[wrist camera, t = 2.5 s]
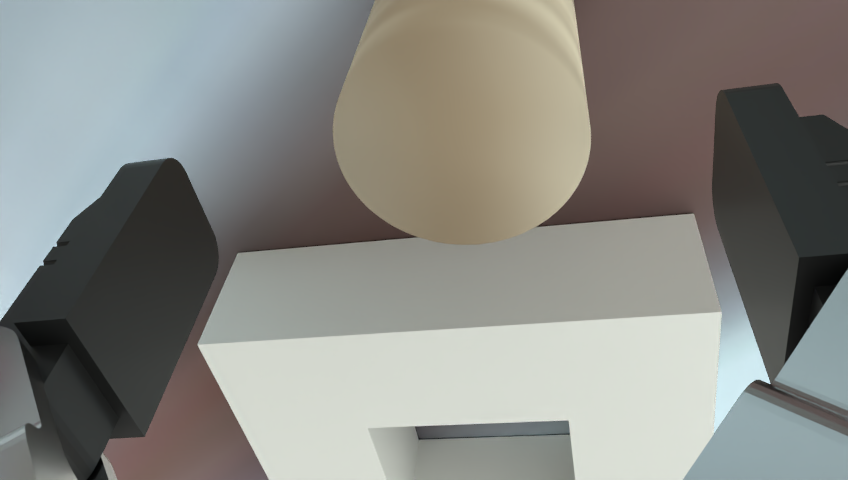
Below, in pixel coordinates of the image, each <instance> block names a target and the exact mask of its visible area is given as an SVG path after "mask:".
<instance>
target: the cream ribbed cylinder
mask: <svg viewBox="0 0 848 480" xmlns="http://www.w3.org/2000/svg"><path fill="white" fill-rule="evenodd" d="M333 142H334V148H335V153H336V157H337V161H338V163H339V166H340V168H341V171H342V173H343V175H344V177H345V179H346V181H347V182H348V184H349V186H350V187H351V189H352V190H353V191H354V193H355V194H356V195H357V197H358V198H359V199H360V200H361V201H362V202H363V203H364V204H365V205H366V206H367V207H368V208H369V209H370V210H371V211H372V212H374V213H375V214H376V215H377V216H378V217H380V218H381V219H383V220H384V221H386V222H387V223H389V224H390V225H392V226H394V227H396V228H398V229H400V230H402V231H404V232H406V233H409V234H411V235H414V236H416V237H419V238H423V239H426V240H430V241H434V242H440V243H446V244H457V245H477V244H485V243H493V242H497V241H501V240H505V239H509V238H512V237H514V236H517V235H520V234H523V233H525V232H527V231H529V230H531V229H533V228H535V227H536V226H538V225H540V224H541V223H543V222H544V221H546V220H547V219H549V218H550V217H551V216H552V215H553V214H555V213H556V212H557V211H558V210H559V209H560V208H561V207H562V206H563V205H564V204H565V203H566V202H567V201H568V200H569V198H570V197H571V195H572V194H573V193H574V191H575V190H576V188H577V187H578V185H579V183H580V181H581V179H582V177H583V175H584V172H585V169H586V166H587V163H588V159H589V153H590V148H591V128H590V121H589V113H588V106H587V98H586V90H585V83H584V75H583V68H582V60H581V53H580V45H579V38H578V30H577V22H576V15H575V7H574V0H375V2H374V4H373V7H372V10H371V12H370V15H369V18H368V21H367V23H366V26H365V29H364V31H363V34H362V37H361V39H360V42H359V45H358V47H357V50H356V53H355V56H354V58H353V61H352V64H351V66H350V69H349V72H348V74H347V77H346V80H345V82H344V85H343V88H342V91H341V93H340V96H339V99H338V101H337V105H336V109H335V114H334V120H333Z"/></svg>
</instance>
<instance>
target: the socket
mask: <svg viewBox="0 0 848 480" xmlns="http://www.w3.org/2000/svg"><path fill="white" fill-rule="evenodd" d="M721 316H722V311H721V308H720V304H719V300H718V297H717V293H716V290H715V286H714V283H713V279H712V276H711V272H710V269H709V265H708V262H707V258H706V255H705V251H704V248H703V244H702V240H701V237H700V233H699V230H698V226H697V223H696V219H695V216H694V214H682V215H671V216H659V217H648V218H636V219H625V220H613V221H601V222H590V223H578V224H567V225H555V226H544V227H535V228H533V229H531V230H529V231H527V232H525V233H523V234H520V235H517V236H514V237H512V238H509V239H505V240H501V241H497V242H493V243H485V244H477V245H457V244H446V243H440V242H434V241H430V240H426V239H423V238H419V237H417V238H405V239H393V240H382V241H370V242H359V243H347V244H336V245H324V246H313V247H301V248H289V249H278V250H266V251H255V252H243V253H238V254H237V256H236V258H235V260H234V263H233V265H232V267H231V270H230V272H229V274H228V276H227V279H226V281H225V283H224V285H223V288H222V290H221V292H220V295H219V297H218V299H217V301H216V304H215V306H214V308H213V310H212V313H211V315H210V317H209V320H208V322H207V324H206V326H205V329H204V331H203V333H202V335H201V338H200V340H199V342H198V347H199V349H200V351H201V352H202V354H203V356H204V358H205V360H206V362H207V364H208V366H209V367H210V369H211V371H212V373H213V375H214V377H215V379H216V381H217V383H218V384H219V386H220V388H221V390H222V392H223V394H224V396H225V398H226V399H227V401H228V403H229V405H230V407H231V409H232V411H233V413H234V415H235V416H236V418H237V420H238V422H239V424H240V426H241V428H242V430H243V431H244V433H245V435H246V437H247V439H248V441H249V443H250V445H251V447H252V448H253V450H254V452H255V454H256V456H257V458H258V460H259V462H260V463H261V465H262V467H263V469H264V471H265V473H266V475H267V477H268V479H269V480H683V479H684V477H685V476H686V474H687V473H688V471H689V470H690V468H691V467H692V465H693V464H694V462H695V461H696V459H697V458H698V457H699V455H700V454H701V452H702V451H703V449H704V448H705V446H706V445H707V443H708V442H709V440H710V439H711V438H712V436H713V432H714V418H715V403H716V389H717V374H718V359H719V345H720V330H721ZM567 420H569V429H570V435H541V436H512V437H484V438H455V439H426V440H419V439H418V435H417V432H416V429H415V426H435V425H462V424H488V423H514V422H540V421H567Z"/></svg>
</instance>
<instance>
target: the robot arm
mask: <svg viewBox="0 0 848 480" xmlns="http://www.w3.org/2000/svg"><path fill="white" fill-rule="evenodd" d="M712 196H713V207H714V214H715V219H716V224H717V227H718V231H719V233H720V236H721V239H722V242H723V245H724V248H725V251H726V254H727V257H728V260H729V263H730V266H731V269H732V271H733V274H734V277H735V280H736V283H737V286H738V289H739V292H740V295H741V298H742V301H743V304H744V307H745V309H746V312H747V315H748V318H749V321H750V324H751V327H752V330H753V333H754V336H755V339H756V342H757V345H758V347H759V350H760V353H761V356H762V359H763V362H764V365H765V368H766V371H767V374H768V377H769V380H770V383H771V384H768V383H766V382H763V381H761V380H755V381H754V382H752V383H751V384H750V385H749V386H748V387H747V388H746V389H745V390H744V391H743V393H742V394H741V395H740V397H739V398H738V399H737V401H736V402H735V404H734V405H733V407H732V408H731V410H730V411H729V413H728V414H727V416H726V417H725V418H724V420H723V421H722V423H721V424H720V426H719V427H718V429H717V430H716V432H715V433H714V435H713V436H712V438H711V439H710V440H709V442H708V443H707V445H706V446H705V448H704V449H703V451H702V452H701V454H700V455H699V457H698V458H697V459H696V461H695V462H694V464H693V465H692V467H691V468H690V470H689V471H688V473H687V474H686V476H685V477H684V479H683V480H848V129H846V128H845V127H843V126H841V125H840V124H838V123H836V122H835V121H833V120H831V119H830V118H828V117H827V116H825V115H816V116H807V117H799V116H798V114H797V113H796V111H795V109H794V107H793V106H792V104H791V102H790V100H789V99H788V97H787V95H786V94H785V92H784V90H783V88H782V87H781V85H779V84H777V83H775V84H767V85H759V86H751V87H743V88H735V89H727V90H721V91H719V93H718V96H717V101H716V114H715V135H714V157H713V178H712ZM56 243H57V247H53V248H52V249H51V251H50V252H49V254H48V255H47V256H46V258H45V259H44V261H43V262H44V266H39V268H38V269H37V271H36V272H35V273H34V275H33V276H32V278H31V279H30V280H29V282H28V283H27V285H26V286H25V287H24V289H23V290H22V292H21V293H20V294H19V296H18V297H17V299H16V300H15V301H14V303H13V304H12V306H11V307H10V308H9V310H8V311H7V313H6V314H5V315H4V317H3V318H2V320H1V321H0V480H117V478H116V475H115V472H114V469H113V466H112V465H111V463H110V461H109V460H108V458H107V457H106V456H105V454H104V453H103V451H104V449H105V447H106V445H107V443H108V440H109V439H113V438H131V437H145V435H146V432H147V430H148V428H149V425H150V423H151V421H152V419H153V416H154V414H155V412H156V409H157V407H158V405H159V403H160V400H161V398H162V396H163V394H164V391H165V389H166V387H167V384H168V382H169V380H170V378H171V375H172V373H173V371H174V368H175V366H176V364H177V362H178V359H179V357H180V355H181V353H182V350H183V348H184V346H185V343H186V341H187V339H188V337H189V334H190V332H191V330H192V327H193V325H194V323H195V321H196V318H197V316H198V314H199V311H200V309H201V307H202V305H203V302H204V300H205V298H206V296H207V293H208V291H209V289H210V286H211V284H212V282H213V280H214V277H215V275H216V272H217V268H218V259H219V256H218V246H217V241H216V238H215V235H214V233H213V230H212V228H211V226H210V224H209V222H208V219H207V217H206V215H205V213H204V211H203V208H202V206H201V204H200V202H199V200H198V198H197V195H196V193H195V191H194V189H193V187H192V184H191V182H190V180H189V178H188V176H187V173H186V171H185V170H184V168H183V166H182V165H181V164H180V163H179V162H178V161H177V160H176V159H173V158H167V159H159V160H151V161H143V162H135V163H128V164H125V165H123V166H122V167H121V168H120V170H119V171H118V173H117V174H116V176H115V177H114V178H113V180H112V181H111V183H110V184H109V186H108V187H107V189H106V190H105V191H104V193H103V194H102V196H101V197H100V198H99V199H97V200H96V201H95V202H94V203H92V204H91V205H90V206H89V207H88V208H86V209H85V210H84V211H83V212H81V213H80V214H79V215H78V216H77V217H75V218H74V219H73V220H72V221H71V223H70V224H69V226H68V227H67V228H66V230H65V231H64V233H63V234H62V235H61V237H60V238H59V240H58V241H57V242H56Z"/></svg>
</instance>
